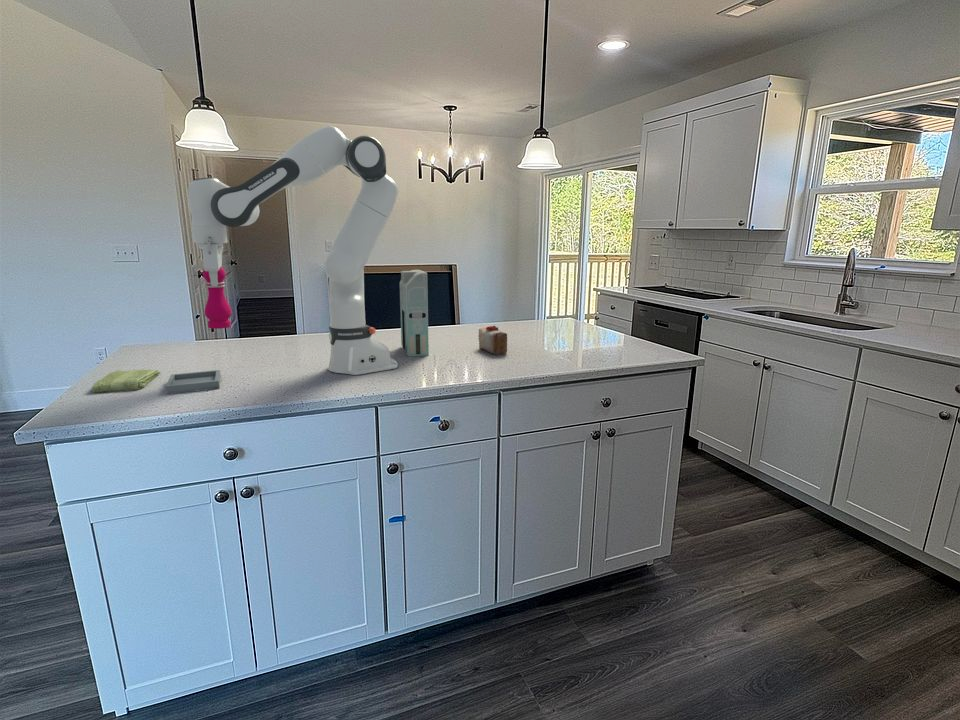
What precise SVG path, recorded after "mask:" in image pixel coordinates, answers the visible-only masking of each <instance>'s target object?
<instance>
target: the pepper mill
mask: <svg viewBox="0 0 960 720" xmlns="http://www.w3.org/2000/svg"><path fill="white" fill-rule="evenodd" d="M217 276H218V286H212V285H211V280H210V276H209V271H205V269H204V268H203V270H202V277H203V279H204V280H205V281H206V282H205V287H206V288H207V290H208V291H207V292H208V293H207V294H208V295H207V296H208V297H207V301H206V304H205V306H204V316H205V317H206V318H207V319H208V321H207V327H208V328H209V329H212V330H213V329H228V328H231V327H232V321H231V320H230V319H229V318H230V317H232V315H233V314H232V308H231V306H230V304H229V303H228V300H227V298H226V295H225V291H224V290H225V289H224V287H226V285H225V281H224V280H225V279H226V277H227V276H226V271H225V269H224V268H223V267H222V266H221V267H220V269H219V271H217Z"/></svg>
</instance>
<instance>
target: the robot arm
mask: <svg viewBox="0 0 960 720" xmlns="http://www.w3.org/2000/svg"><path fill="white" fill-rule="evenodd" d="M386 156H387V155H386V152H385V148H384V147H383V145H382V144H381V142H380V141H379V140H378V139H376V138H375V137H373V136H370V135H359V136H357V137H356V138H354V139H353V140H351V139H349V138H348V137H346V136H345V134H344V133H343V132H342V131H341V130H340V129H339V128H338V127H336V126H334V125H326V126H324V127H321V128H318V129H316V130H314V131H313V132H311V133H308V134H307V135H306V136H304V137H303V138H301V139H300V140H298V141H297V142H296V143H294V144H293V145H292V146H290V147H289V148H288V149H287V150H286V151H285V152H284V153H282V155H281V156H279V158H278V159H276V160H275V161H274V162H273V163H272V164H271V165H269V166H268V167H266V168H264V170H262V171H260V172H259V173H257V174H255V175H254V176H252V177H251V178H249V179H248V180H246V181H245V182H243V183H241V184H239V185H236V186H229V185H227V184H225V183H224V182H222V181H220V180H219V179H218V178H216V177H200V178H195V179H193V180H191V182H190V183H189V184H188V185H189V186H188V191H187V192H188V194H187V195H188V207H189V209H188V210H189V212H190V214H191V225H190V226H191V234H192V241H193V244H198V248H199V249H201V250H202V259H203V260H202V262H203V270H204V269H205V271H209V276H210V280H211V285H212V286H218V276H217V271H219V269H220V267H222V266H223V250H224V244H228V236H227V235H228V234H227V227H228V228H229V227H230V228H237V227H246V226H250V225H252V224H254V223H255V222H257V220H258V219H259V217H260V214H261V208H260V205H261V203H263V202H265V201H266V200H268V199H270V197H272V196H274V195H275V194H277V193H279V192H280V191H282V190H284V189H287V188H290V187H295V186H306V185H309V184H311V183H314V182H315V181H317V180H319V179H320V178H323V176H325V175H326V174H328V173H330V172H331V171H332V170H333V169H335V168H337V167H339V166H343V167H345V168H346V169H348V171H350V172H351V173H352V174H353V175H355V176H357V177H359V178H360V179H361V188H360V191H359V193H358V195H357V197H356V199H355V200H354V203H353V206H352V207H351V209H350V211H349V214H348V216H347V218H346V219H345V221H344V223H343V225H342V227H341V229H340V230H339V232H338V234H337V236H336V237H335V240H334V241H333V244H332V246H331V247H330V249H329V251H328V253H327V255H326V257H325V260H324V262H323V265H324V266H323V269H324V272H325V274H326V276H327V278H328V309H329V310H328V311H329V322H330V325H329V329H328V336H329V338H328V339H329V344H330V358H329V361H328V362H329V363H328V367H327V370H328V371H329V372H332V373H337V374H348V375H352V376H353V375H354V376H358V375H363V374H369V373H376V372H382V371H388V370H394V369H397V368H398V366H399V363H398V362H397V360H395V358H392V357H391V353H390V350H389V348H388V346H387V345H386V344H385V343H382V341H380V340H378V339H377V338H376V337H374V336H373V335H375V334H376V332H377V330H376V328H375V327H372V326H370V325H368V324H366V310H365V307H366V306H365V274H364V273H365V269H364V268H365V266H366V264H367V262H368V260H369V258H370V256H371V254H372V252H373V250H374V248H375V247H376V245H377V243H378V240H379V238H380V237H381V234H382V232H383V230H384V228H385V227H386V224H387V223H388V220H389V218H390V217H391V215H392V212H393V209H394V207H395V204H396V202H397V198H398V194H399V187H398V185H397V182H395V180H394V179H393V178H392V177H390V176H388V174H387V159H386V158H387V157H386Z"/></svg>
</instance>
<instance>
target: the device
mask: <svg viewBox="0 0 960 720" xmlns="http://www.w3.org/2000/svg"><path fill="white" fill-rule="evenodd" d="M400 275H401V276H400V281H399V306H400V307H399V308H400V309H399V310H400V311H399V312H400V333H401V335H400V338H401V339H400V340H401V341H400V342H401V347H402V349H403V350H405V353H406V354H407V356H408V357H426V356H429V347H430V346H429V344H430V343H429V300H428V299H429V297H428V294H429V291H428V290H429V289H428V272H426V271H424V270H421V269H412V270H411V269H410V270H401V271H400Z"/></svg>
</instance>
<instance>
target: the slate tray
mask: <svg viewBox="0 0 960 720" xmlns="http://www.w3.org/2000/svg"><path fill="white" fill-rule="evenodd" d="M220 379H222V375H221V369H214V370H213V369H212V370H203V371H193V372H184V373H171V374H170V376H169V378H168V379H167V382H166V384H165V391H166V392H165V393H166V395H170V394H169V393H172V394H180V393H179V392H181V393H189V392H188V391H190V392H197V391H196V390H199V391H207V390H206V389H209V390H216V389H215V388H218V389H220V388H221V380H220Z"/></svg>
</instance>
